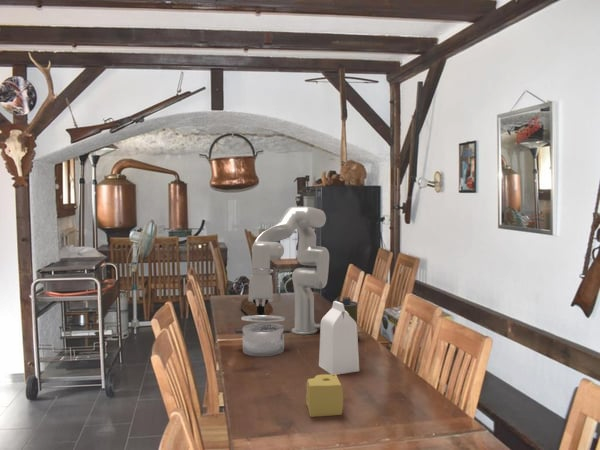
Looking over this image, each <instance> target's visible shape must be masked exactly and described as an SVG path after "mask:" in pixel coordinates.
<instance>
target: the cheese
mask: <svg viewBox="0 0 600 450" xmlns="http://www.w3.org/2000/svg"><path fill="white" fill-rule="evenodd" d="M305 385H306V387H305V388H306V395H305V403H306V406H307V408H308V413H309V416H310V417H311V418H312V417H313V418H314V417H327V416H328V417H330V416H342V413H343V408H344V391H343V387H342V384H341V381H340V380H339V378H338V375H336V374H330V373H328V374H317V375H315V376H314V378H308V379H307V382H306V384H305Z"/></svg>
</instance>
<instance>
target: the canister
mask: <svg viewBox="0 0 600 450" xmlns="http://www.w3.org/2000/svg"><path fill="white" fill-rule="evenodd" d="M338 302H340V303H342V304H343V305H344V309H345V311H347V312H348V313H349V316H350V317H351V318H352V319H354V321H355V322H356V324H357V325H358V305H359V304H358V302H356V301H353V300H352V299H351V297H350V296H343V297H342V300H340V301H338Z"/></svg>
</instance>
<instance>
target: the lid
mask: <svg viewBox="0 0 600 450" xmlns="http://www.w3.org/2000/svg"><path fill="white" fill-rule="evenodd" d="M285 320H286V317H285V316H281V315H274V313H272V314H270V315H267V313H263V315H252V316H249V315H243V316H241V321H246V322H255V323H274V322H282V321H285Z"/></svg>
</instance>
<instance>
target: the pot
mask: <svg viewBox="0 0 600 450" xmlns="http://www.w3.org/2000/svg"><path fill="white" fill-rule="evenodd" d="M291 333H292V328H285V327H284V325H283V324H280V323H275V322H254V323H250V324H246V325H244V326H243V327H242V328H239V329H238V328H237V329H235V334H242V353H243V354H244V355H247V356H250V357H251V356H252V357H274V356H276V355H279V354H282V353H283V352H284V351H285V334H291Z"/></svg>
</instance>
